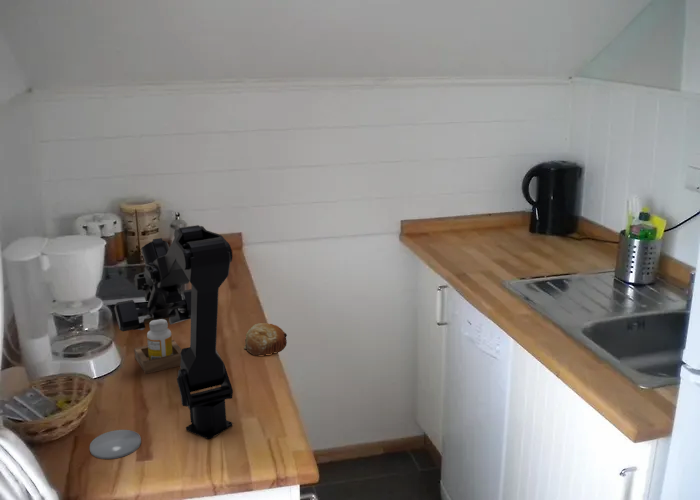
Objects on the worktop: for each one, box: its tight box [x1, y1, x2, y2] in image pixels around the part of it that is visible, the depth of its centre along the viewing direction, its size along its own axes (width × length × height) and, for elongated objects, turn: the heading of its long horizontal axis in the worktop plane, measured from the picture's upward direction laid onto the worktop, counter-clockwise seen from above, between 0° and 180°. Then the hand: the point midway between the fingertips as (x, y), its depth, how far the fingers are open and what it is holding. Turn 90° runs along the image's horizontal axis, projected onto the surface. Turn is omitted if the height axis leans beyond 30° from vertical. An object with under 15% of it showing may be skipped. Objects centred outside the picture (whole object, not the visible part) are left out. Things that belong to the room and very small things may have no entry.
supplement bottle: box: [146, 318, 173, 360], centre depth 166 cm, size 5×5×10 cm
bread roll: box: [243, 322, 288, 356], centre depth 174 cm, size 10×10×8 cm
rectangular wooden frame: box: [133, 339, 183, 374], centre depth 167 cm, size 9×9×2 cm
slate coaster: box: [89, 429, 142, 460], centre depth 133 cm, size 9×9×1 cm
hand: (155, 325), depth 167 cm, fingers open, 6 cm apart
